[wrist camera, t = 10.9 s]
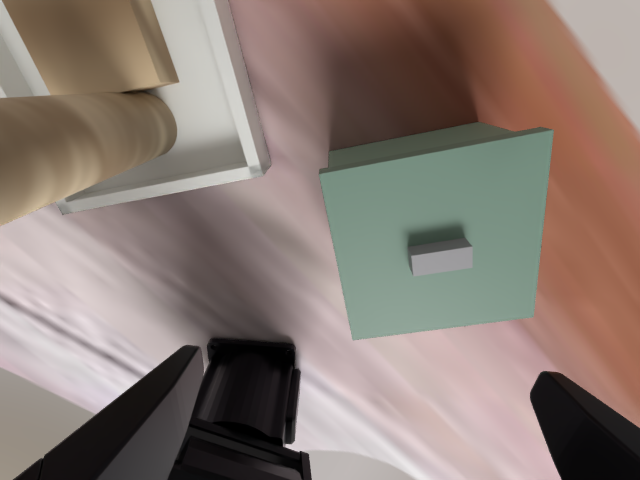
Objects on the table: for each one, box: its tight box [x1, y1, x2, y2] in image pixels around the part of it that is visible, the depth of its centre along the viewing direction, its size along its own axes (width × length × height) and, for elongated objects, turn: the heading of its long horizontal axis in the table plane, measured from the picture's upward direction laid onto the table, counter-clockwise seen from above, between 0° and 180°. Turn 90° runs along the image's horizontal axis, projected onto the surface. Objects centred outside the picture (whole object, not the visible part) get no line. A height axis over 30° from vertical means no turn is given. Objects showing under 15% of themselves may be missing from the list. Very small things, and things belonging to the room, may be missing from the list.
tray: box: [0, 0, 271, 215], centre depth 15 cm, size 13×11×2 cm
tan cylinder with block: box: [0, 0, 179, 226], centre depth 10 cm, size 8×5×13 cm, turn 12°
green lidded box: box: [319, 122, 554, 340], centre depth 16 cm, size 9×9×7 cm
